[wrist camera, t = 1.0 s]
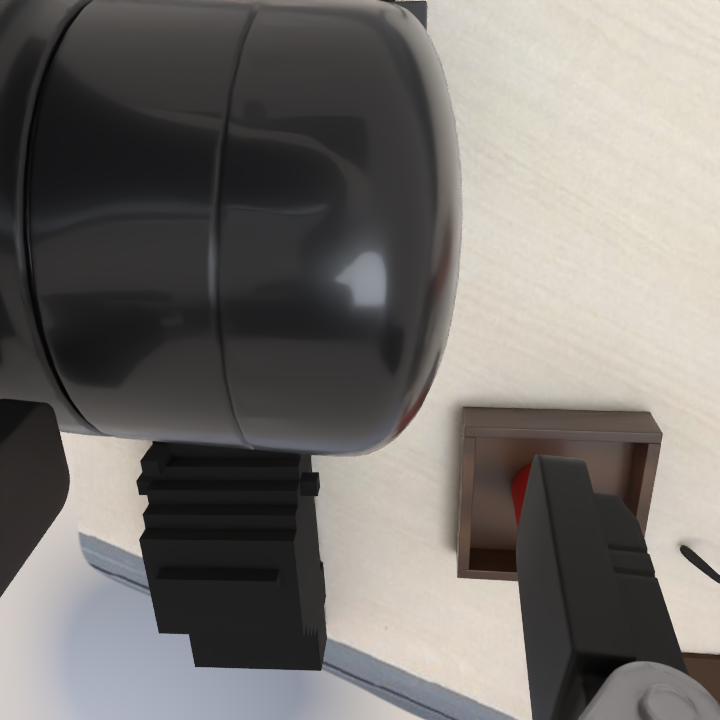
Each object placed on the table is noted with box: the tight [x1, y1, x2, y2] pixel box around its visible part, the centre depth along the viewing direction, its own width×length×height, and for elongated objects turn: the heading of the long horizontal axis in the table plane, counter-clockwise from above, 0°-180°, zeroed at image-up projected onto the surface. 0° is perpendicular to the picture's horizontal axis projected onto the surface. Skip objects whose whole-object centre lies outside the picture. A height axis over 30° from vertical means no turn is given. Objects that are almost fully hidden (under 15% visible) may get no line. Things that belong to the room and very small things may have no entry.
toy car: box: [137, 441, 327, 671], centre depth 47 cm, size 12×29×10 cm, turn 3°
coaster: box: [682, 653, 720, 705], centre depth 56 cm, size 8×8×1 cm
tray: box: [456, 407, 662, 581], centre depth 48 cm, size 13×13×3 cm
